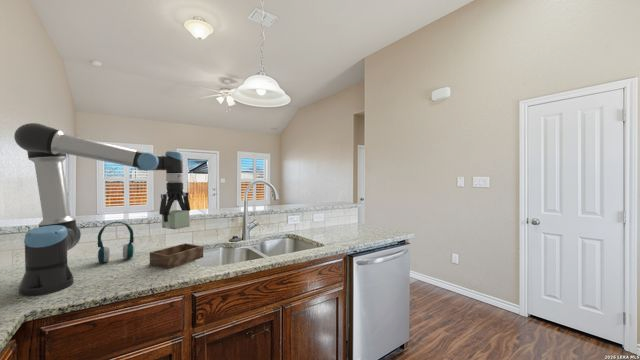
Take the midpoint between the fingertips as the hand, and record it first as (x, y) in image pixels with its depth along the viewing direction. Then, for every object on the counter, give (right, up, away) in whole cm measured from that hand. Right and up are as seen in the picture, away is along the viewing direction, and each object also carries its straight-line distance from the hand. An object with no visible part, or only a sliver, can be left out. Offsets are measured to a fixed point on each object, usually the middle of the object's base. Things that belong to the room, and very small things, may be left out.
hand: (175, 226), depth 139 cm
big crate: (0, -18, +2) cm, 18 cm away
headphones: (-31, -18, +1) cm, 36 cm away
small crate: (0, 0, 0) cm, 0 cm away
